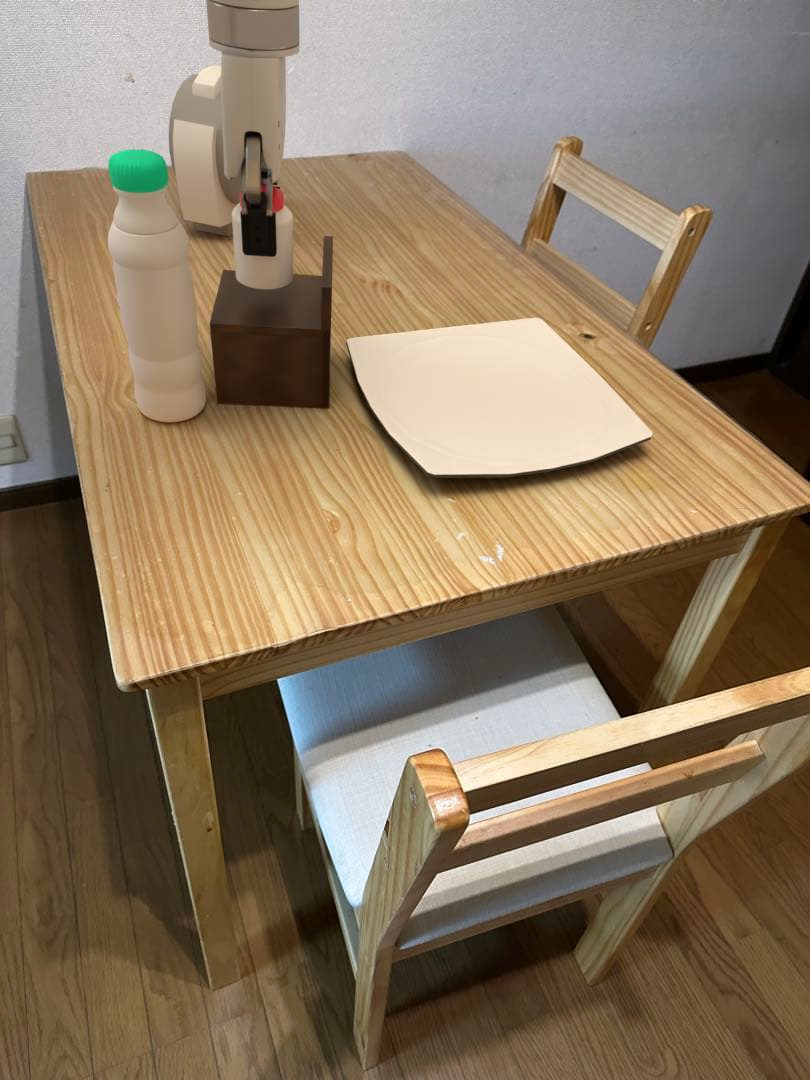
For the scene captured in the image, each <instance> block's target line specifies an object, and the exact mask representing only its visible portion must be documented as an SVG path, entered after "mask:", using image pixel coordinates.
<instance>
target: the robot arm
mask: <svg viewBox="0 0 810 1080" xmlns="http://www.w3.org/2000/svg"><path fill="white" fill-rule="evenodd" d="M205 4H206V5H205V6H206V17H207V30H208V43H209V46H210V47H211V48H212V49H213V50H216V51H217V52H221V57H220V58H221V59H220V67H221V99H222V125H223V149H224V175H225V176H226V178H227V179H228V180H232V179H233V178H237V176H238V174H239V171H240V168H241V199H242V211H241V212H240V215H241V232H242V249H243V253H244V254H245V255H251V256H267V257H274V256H276V252H277V243H276V213H273V187H276V188H278V189H280V190H281V187H280V186H278V185H279V179H280V175H281V171H282V166H283V165H282V164H283V158H284V151H285V142H286V141H285V140H286V123H287V71H286V70H287V64H286V63H287V62H286V58H287V57H291V56H294V55H297V54H298V53H299V52H300V0H205ZM261 186H266V196H265V192H261Z"/></svg>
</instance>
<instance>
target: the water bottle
mask: <svg viewBox="0 0 810 1080" xmlns="http://www.w3.org/2000/svg"><path fill="white" fill-rule="evenodd" d="M108 173H109V178H110V182H111V184H112V186H113V187H112V188H113V190H114V191H115V192H116V193H117V195H118V200H119V201H118V203H117V205H116V207H115V208H114V212H113V219H112V221H111V224H110V228H109V231H108V234H107V248H108V252H109V254H110V256H111V258H112V262H113V265H112V266H113V275H114V282H115V290H116V295H117V302H118V307H119V312H120V318H121V322H122V327H123V331H124V335H125V338H126V342H127V345H128V361H129V367H130V371H131V374H132V377H133V386H134V387H133V388H134V397H135V403H136V405H137V408H138V410H139V412H141V414H142V415H144V416H145V417H146V418H148V419H150V420H153V421H156V422H161V423H179V422H184V421H187V420H190V419H192V418H194V417H195V416H197V415H199V413H201V412H202V411H203V409H204V407H205V406H206V403H207V395H206V387H205V381H204V377H203V374H202V371H203V360H202V353H201V352H202V351H201V347H200V345H199V342H198V341H199V337H198V336H199V335H198V334H199V332H198V331H199V330H198V317H197V316H198V315H197V313H198V312H197V304H196V293H195V287H194V280H193V273H192V268H191V264H190V259H189V254H190V248H191V247H190V240H189V239H190V238H189V236H188V234H187V232H186V230H185V228H184V226H183V225H182V223H181V222H180V220H179V219H178V217H177V214H176V212H175V210H174V209H173V207H172V206H171V204H169V202H168V201H167V199H166V192H167V191H168V189H169V185H168V184H169V170H168V165H167V163H166V160H165V158H164V157H163V156H162V155H161V154H159V153H157V152H155V151H152V150H147V149H142V148H141V149H138V148H137V149H124V150H120V151H117V152H114V153H113V154H112V155H111V156H110V157H109V159H108Z"/></svg>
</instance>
